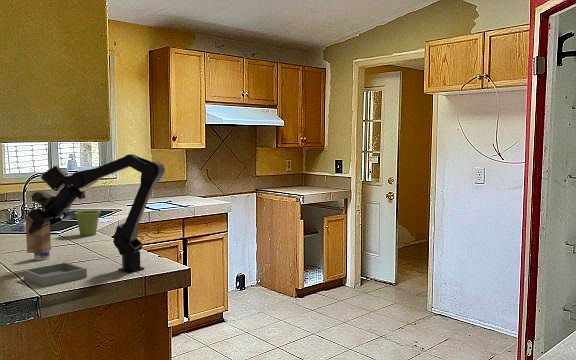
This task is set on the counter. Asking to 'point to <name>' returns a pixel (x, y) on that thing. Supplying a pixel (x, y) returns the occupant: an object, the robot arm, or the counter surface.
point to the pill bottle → (42, 255)
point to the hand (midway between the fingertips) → (34, 231)
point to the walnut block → (37, 238)
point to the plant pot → (87, 222)
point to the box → (55, 274)
